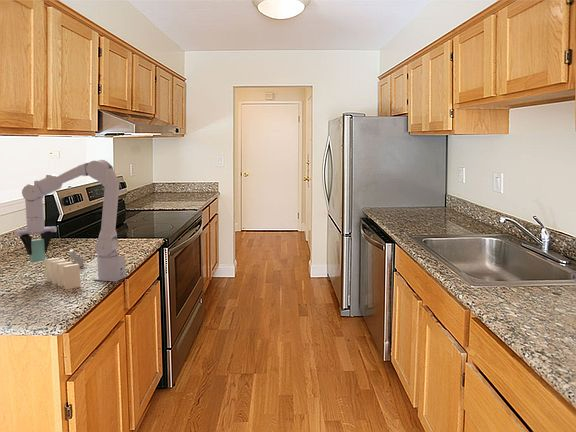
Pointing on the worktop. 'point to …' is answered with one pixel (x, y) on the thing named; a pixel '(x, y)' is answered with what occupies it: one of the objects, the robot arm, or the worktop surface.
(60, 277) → the domino
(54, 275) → the domino
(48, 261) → the domino
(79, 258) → the grey angular flat piece
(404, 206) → the worktop surface
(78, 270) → the domino
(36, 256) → the end tile
